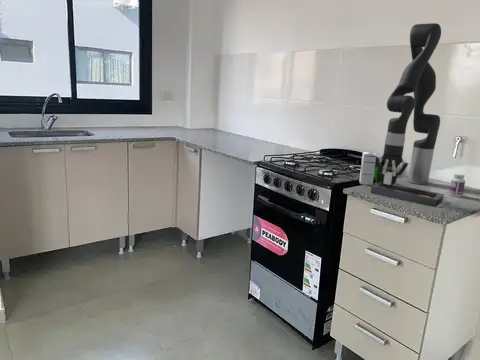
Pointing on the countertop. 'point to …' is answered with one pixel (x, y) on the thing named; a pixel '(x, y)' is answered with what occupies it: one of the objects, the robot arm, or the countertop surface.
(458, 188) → the pill bottle
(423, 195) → the slider panel
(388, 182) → the fader knob
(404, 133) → the robot arm
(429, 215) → the countertop surface
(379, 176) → the bell pepper
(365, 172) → the syrup box
